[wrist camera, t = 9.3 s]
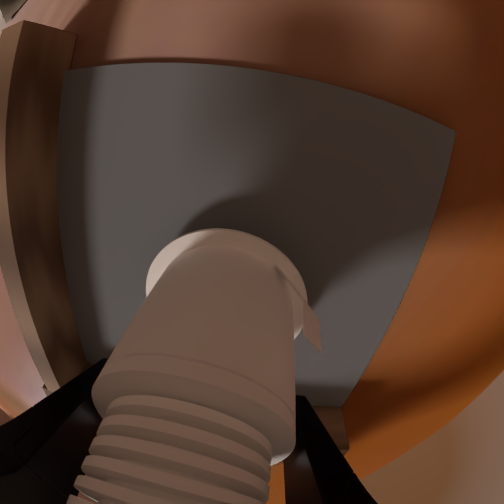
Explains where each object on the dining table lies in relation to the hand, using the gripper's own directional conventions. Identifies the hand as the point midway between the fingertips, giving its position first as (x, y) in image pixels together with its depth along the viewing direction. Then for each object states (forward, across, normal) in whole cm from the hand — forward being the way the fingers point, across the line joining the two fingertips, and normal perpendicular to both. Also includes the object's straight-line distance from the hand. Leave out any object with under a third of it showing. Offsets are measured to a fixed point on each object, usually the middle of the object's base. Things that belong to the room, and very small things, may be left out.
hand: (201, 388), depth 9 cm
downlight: (+5, 0, 0) cm, 5 cm away
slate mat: (+6, 0, -1) cm, 6 cm away
